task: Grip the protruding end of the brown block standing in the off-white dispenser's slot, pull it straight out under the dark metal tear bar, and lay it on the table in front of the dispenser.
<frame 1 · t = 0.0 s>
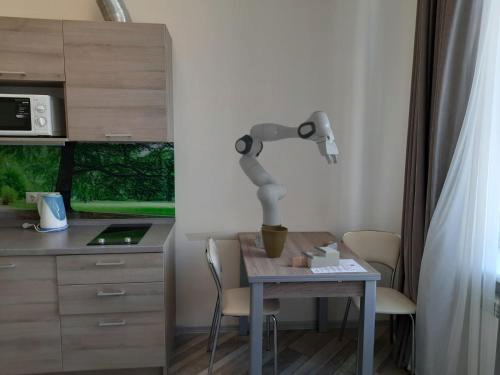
hand: (333, 163, 183), 52 cm above the table, tool tilted 20°, fingers open, 8 cm apart
brown block: (303, 265, 173), on the table
tin: (329, 256, 189), on the table
plant pot: (274, 256, 188), on the table
dispenser: (316, 263, 175), on the table
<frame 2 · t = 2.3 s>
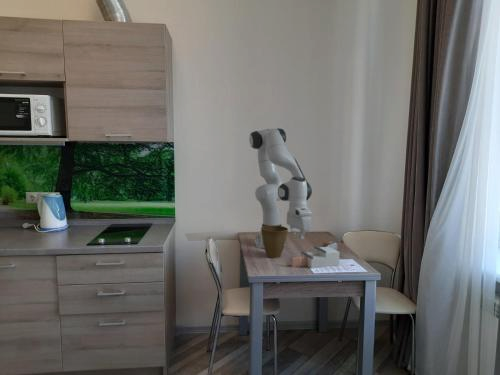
hand: (297, 236, 170), 15 cm above the table, tool pointing down, fingers open, 8 cm apart
nothing on the table moved.
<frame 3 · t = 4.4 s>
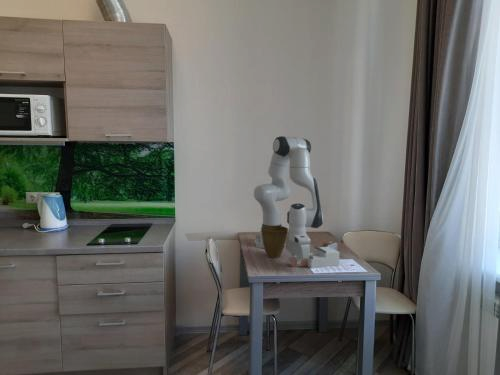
hand: (296, 262, 171), 2 cm above the table, tool pointing down, fingers closed on brown block, 2 cm apart
brown block: (303, 265, 173), on the table, touching gripper
everything else where it was.
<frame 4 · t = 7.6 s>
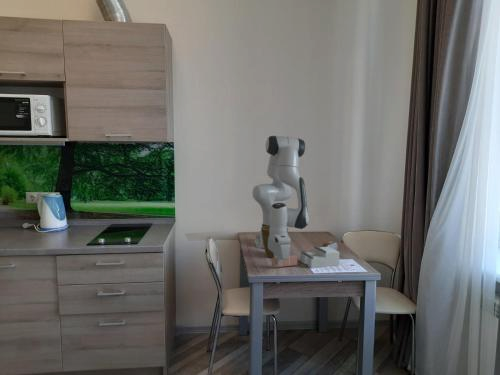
hand: (277, 263, 169), 2 cm above the table, tool pointing down, fingers closed on brown block, 2 cm apart
brown block: (284, 265, 170), point 1 cm above the table, touching gripper
everything else where it was.
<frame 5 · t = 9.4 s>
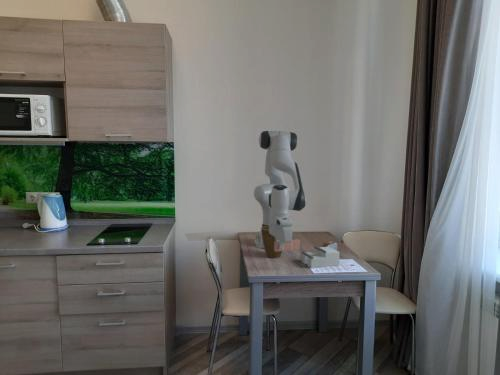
hand: (279, 247, 163), 12 cm above the table, tool pointing down, fingers closed on brown block
brown block: (287, 249, 164), point 10 cm above the table, touching gripper
everything else where it was.
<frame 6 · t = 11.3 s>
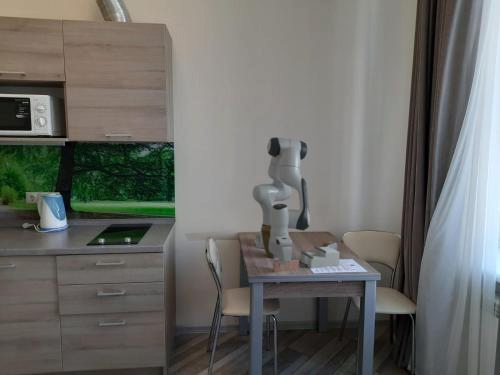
hand: (278, 265, 164), 3 cm above the table, tool pointing down, fingers open, 4 cm apart
brown block: (286, 270, 166), on the table
everything else where it was.
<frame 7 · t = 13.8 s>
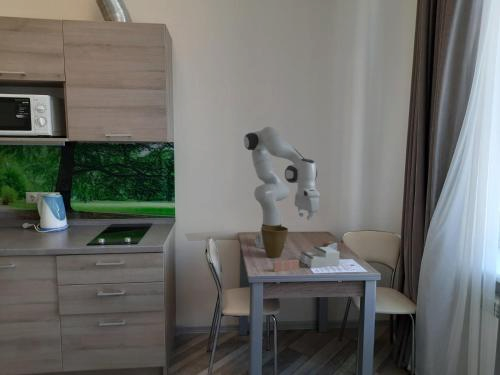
hand: (305, 218, 171), 24 cm above the table, tool pointing down, fingers open, 8 cm apart
nothing on the table moved.
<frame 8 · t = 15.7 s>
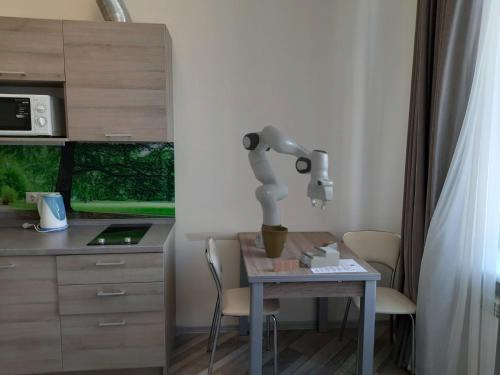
hand: (318, 207, 176), 29 cm above the table, tool pointing down, fingers open, 8 cm apart
nothing on the table moved.
at the end: brown block moved 12.2 cm from its start; brown block touching table; brown block inside the target area (0.7 cm from its centre), on the table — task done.
